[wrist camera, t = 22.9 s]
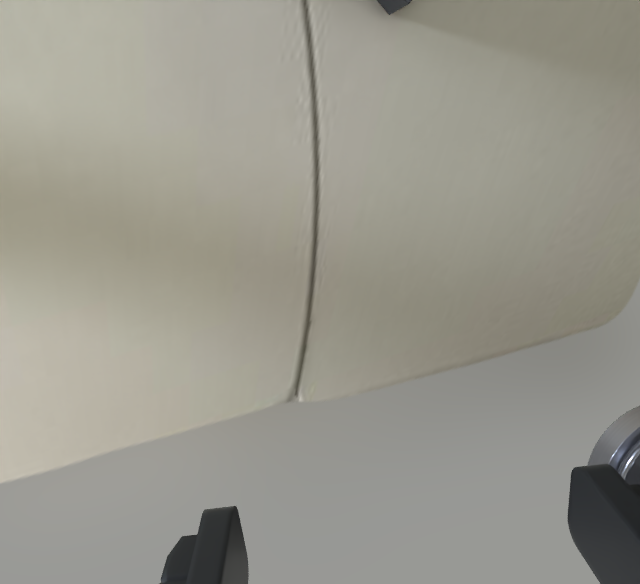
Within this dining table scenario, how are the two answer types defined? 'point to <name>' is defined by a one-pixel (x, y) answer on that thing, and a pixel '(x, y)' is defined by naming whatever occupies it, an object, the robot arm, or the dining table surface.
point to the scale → (393, 5)
